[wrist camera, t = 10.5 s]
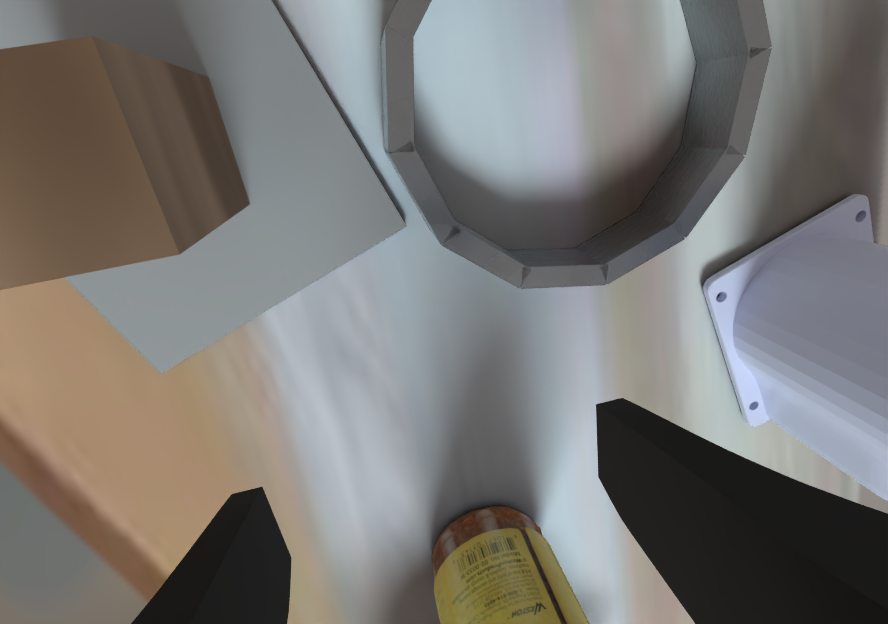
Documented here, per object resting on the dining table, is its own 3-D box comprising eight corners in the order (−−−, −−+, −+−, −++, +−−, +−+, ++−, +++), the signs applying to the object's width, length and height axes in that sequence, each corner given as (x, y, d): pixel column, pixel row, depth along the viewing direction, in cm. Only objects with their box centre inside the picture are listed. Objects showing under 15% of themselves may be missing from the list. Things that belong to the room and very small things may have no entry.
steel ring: (743, 168, 19) (795, 173, 17) (483, 321, 20) (500, 347, 17) (654, -203, 14) (711, -266, 12) (306, 16, 15) (297, -5, 12)
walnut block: (209, 77, 14) (91, 35, 8) (250, 204, 16) (179, 254, 10) (74, 98, 14) (-162, 73, 8) (130, 227, 16) (-27, 294, 9)
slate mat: (405, 224, 18) (406, 226, 17) (164, 369, 18) (160, 374, 18) (183, -147, 13) (179, -155, 12) (-138, 63, 13) (-152, 61, 13)
